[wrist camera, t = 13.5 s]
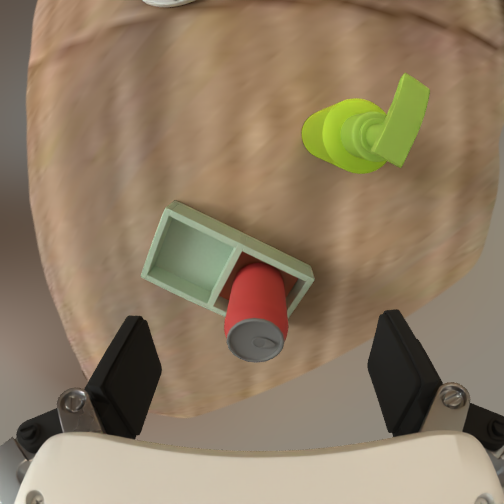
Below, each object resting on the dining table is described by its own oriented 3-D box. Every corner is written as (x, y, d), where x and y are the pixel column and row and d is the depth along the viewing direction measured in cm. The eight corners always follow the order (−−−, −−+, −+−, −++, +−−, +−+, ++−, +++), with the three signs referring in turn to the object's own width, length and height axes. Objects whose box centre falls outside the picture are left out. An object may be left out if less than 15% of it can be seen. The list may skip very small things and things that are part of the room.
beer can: (275, 309, 40) (277, 371, 29) (228, 297, 39) (215, 358, 28) (290, 267, 37) (299, 324, 26) (240, 254, 37) (229, 307, 26)
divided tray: (150, 264, 39) (140, 277, 36) (174, 199, 36) (165, 207, 32) (274, 321, 42) (274, 337, 38) (310, 265, 38) (315, 279, 35)
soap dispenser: (360, 117, 30) (459, 108, 12) (338, 167, 33) (417, 209, 15) (316, 95, 30) (377, 51, 11) (293, 146, 32) (329, 161, 14)
